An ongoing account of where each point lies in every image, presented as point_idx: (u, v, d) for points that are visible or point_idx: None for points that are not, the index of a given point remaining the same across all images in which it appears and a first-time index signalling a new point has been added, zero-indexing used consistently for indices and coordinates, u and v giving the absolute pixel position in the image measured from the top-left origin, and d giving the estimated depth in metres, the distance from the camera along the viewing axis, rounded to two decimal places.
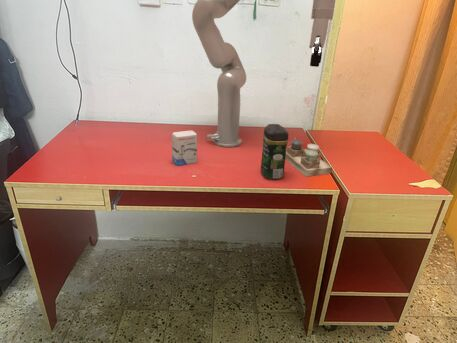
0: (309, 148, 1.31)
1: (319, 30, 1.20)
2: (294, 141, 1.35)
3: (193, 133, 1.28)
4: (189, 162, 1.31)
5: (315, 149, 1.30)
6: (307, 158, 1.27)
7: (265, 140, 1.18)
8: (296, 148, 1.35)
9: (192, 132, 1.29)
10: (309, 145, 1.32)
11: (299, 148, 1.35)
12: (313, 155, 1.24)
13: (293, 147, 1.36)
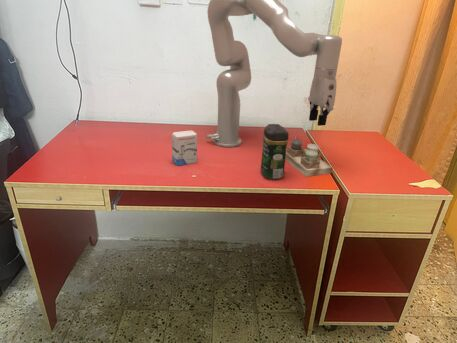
0: (309, 148, 1.31)
1: None
2: (294, 141, 1.35)
3: (193, 133, 1.28)
4: (189, 162, 1.31)
5: (315, 149, 1.30)
6: (307, 158, 1.27)
7: (265, 140, 1.18)
8: (296, 148, 1.35)
9: (192, 132, 1.29)
10: (309, 145, 1.32)
11: (299, 148, 1.35)
12: (313, 155, 1.24)
13: (293, 147, 1.36)
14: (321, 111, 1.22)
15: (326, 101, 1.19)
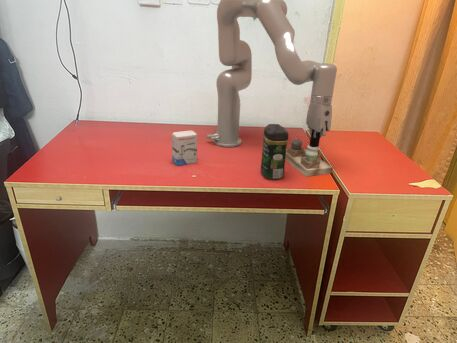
0: (309, 148, 1.31)
1: None
2: (294, 141, 1.35)
3: (193, 133, 1.28)
4: (189, 162, 1.31)
5: (315, 149, 1.30)
6: (307, 158, 1.27)
7: (265, 140, 1.18)
8: (296, 148, 1.35)
9: (192, 132, 1.29)
10: None
11: (299, 148, 1.35)
12: (313, 155, 1.24)
13: (293, 147, 1.36)
14: (314, 134, 1.28)
15: (322, 126, 1.23)
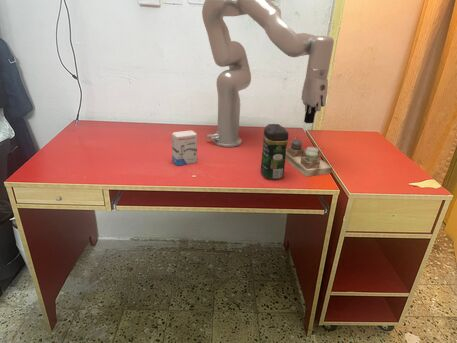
0: None
1: None
2: (294, 141, 1.35)
3: (193, 133, 1.28)
4: (189, 162, 1.31)
5: None
6: (307, 158, 1.27)
7: (265, 140, 1.18)
8: (296, 148, 1.35)
9: (192, 132, 1.29)
10: (309, 148, 1.33)
11: (299, 148, 1.35)
12: (313, 155, 1.24)
13: (293, 147, 1.36)
14: (309, 109, 1.26)
15: (317, 101, 1.21)
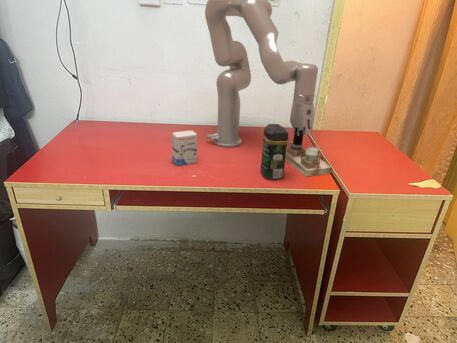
0: None
1: None
2: None
3: (193, 133, 1.28)
4: (189, 162, 1.31)
5: None
6: (307, 158, 1.27)
7: (265, 140, 1.18)
8: None
9: (192, 132, 1.29)
10: (309, 148, 1.33)
11: None
12: (313, 155, 1.24)
13: (293, 149, 1.36)
14: (297, 132, 1.32)
15: (304, 125, 1.27)
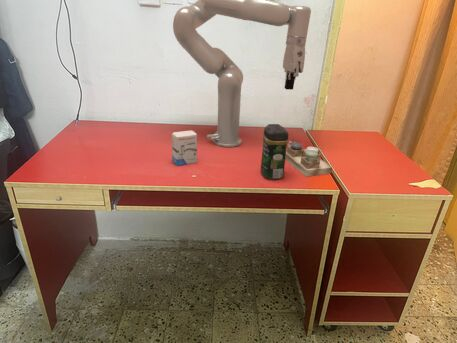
0: None
1: None
2: (294, 144, 1.36)
3: (193, 133, 1.28)
4: (189, 162, 1.31)
5: None
6: (307, 158, 1.27)
7: (265, 140, 1.18)
8: None
9: (192, 132, 1.29)
10: (309, 148, 1.33)
11: None
12: (313, 155, 1.24)
13: None
14: (288, 76, 1.36)
15: (295, 67, 1.31)
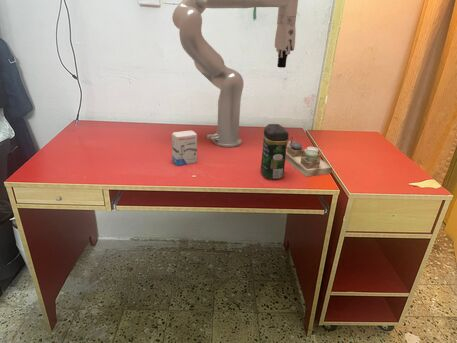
0: None
1: None
2: (294, 144, 1.36)
3: (193, 133, 1.28)
4: (189, 162, 1.31)
5: None
6: (307, 158, 1.27)
7: (265, 140, 1.18)
8: None
9: (192, 132, 1.29)
10: (309, 148, 1.33)
11: None
12: (313, 155, 1.24)
13: None
14: (281, 54, 1.44)
15: (287, 45, 1.39)
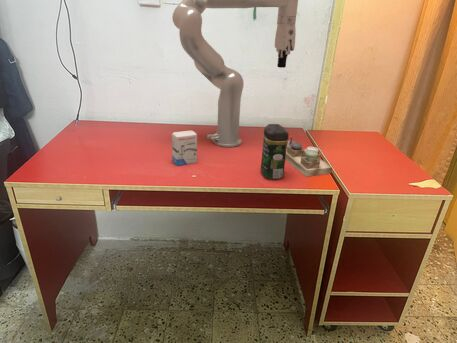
0: None
1: None
2: (294, 144, 1.36)
3: (193, 133, 1.28)
4: (189, 162, 1.31)
5: None
6: (307, 158, 1.27)
7: (265, 140, 1.18)
8: None
9: (192, 132, 1.29)
10: (309, 148, 1.33)
11: None
12: (313, 155, 1.24)
13: None
14: (281, 54, 1.44)
15: (287, 45, 1.39)
